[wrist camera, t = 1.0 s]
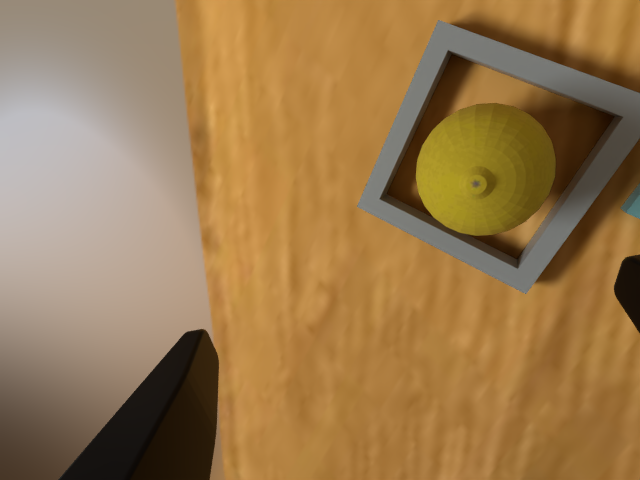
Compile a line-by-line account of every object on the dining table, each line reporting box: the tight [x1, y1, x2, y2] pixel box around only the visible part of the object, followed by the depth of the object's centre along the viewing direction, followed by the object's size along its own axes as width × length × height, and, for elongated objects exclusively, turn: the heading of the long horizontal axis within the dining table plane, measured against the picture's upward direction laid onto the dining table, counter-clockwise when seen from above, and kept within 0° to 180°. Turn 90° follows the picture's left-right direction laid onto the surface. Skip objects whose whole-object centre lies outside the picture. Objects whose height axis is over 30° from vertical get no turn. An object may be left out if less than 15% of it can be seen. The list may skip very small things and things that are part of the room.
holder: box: [357, 20, 640, 294], centre depth 20 cm, size 10×10×2 cm
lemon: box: [416, 103, 556, 236], centre depth 17 cm, size 6×6×8 cm
